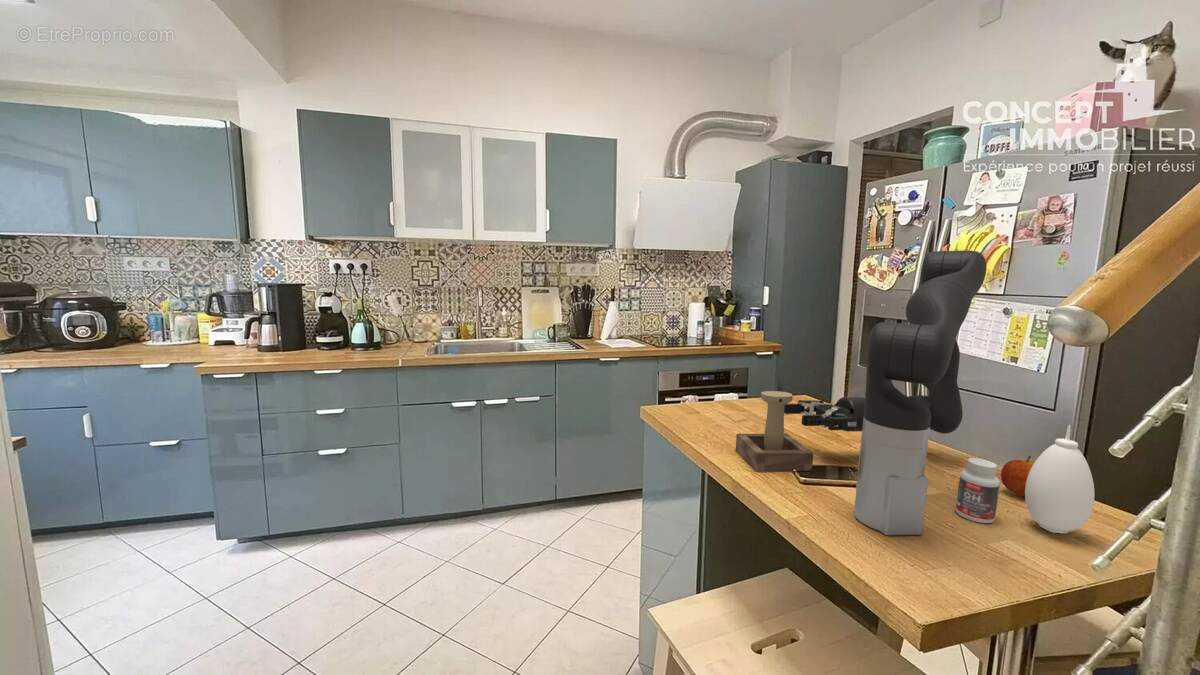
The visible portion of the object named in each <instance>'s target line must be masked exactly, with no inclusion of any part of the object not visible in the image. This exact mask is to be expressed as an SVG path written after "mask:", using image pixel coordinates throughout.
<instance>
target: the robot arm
mask: <svg viewBox="0 0 1200 675" xmlns="http://www.w3.org/2000/svg"><path fill="white" fill-rule="evenodd" d="M986 275H987V261H986V258H985V256H984V255H983V253H981V252H979V251H976V250H936V251H935V250H934V251H930V252H928V253H927V254H926V255H925V256H924V259H923V261H922V265H921V270H920V285H919V286H918V287H917V288H916V289H915V290H914V292H913V294H911V296H910V298H909V299H908V301H907V303H906V306H905V316H906V320H907V322H908V323H901V322H889V321H885V322H884V321H881V322H878V323H877V324H875V325H874V327H872V330H871V331H870V334H869V337H868V341H867V342H868V343H867V352H866V374H865V376H866V379H865V393H864V396H844V397H840V398H839V399H838V400H837V402H836V403H835V404H834V405H833V403H829V402H825V401H823V400H822V399H821V400H802V399H799V400H797V403H787V404H786V405H785V407H784V415H802V416H801V425H802V426H804V427H821V428H823V429H826V428H827V430H829V431H843V432H852V433H853V432H861V435H860V436H861V438H860V447H859V456H858V457H859V458H858V466H857V478H856V486H855V487H856V488H855V496H854V497H855V498H854V508H853V515H854V517H855V518H856V519H857V520H858V521H859V522H860V523H862V524H864V525H865V526H867V527H869V528H871V529H873V530H875V531H879V532H880V533H882V534H884V535H885V536H907V535H908V536H915V535H918V536H920V535H922V534H923V528H924V519H925V512H926V503H927V495H928V494H927V493H928V487H929V478H928V477H927V476H925V471H926V470H925V469H926V463H927V453H928V446H929V438H930V437H929V436H930V430H931V431H933V432H936V433H939V434H944V435H946V434H951V433H953V432H954V431H956V430H957V429H958V428H959V426H960V425H961V423H962V420H963V416H964V415H963V404H962V400H961V395H960V394H961V393H960V389H959V385H958V375H959V368H960V361H961V360H960V359H961V353H960V347H959V344H958V342H957V335H958V333H959V331H960V329H961V327H962V325H963V323H964V322H965V320H966V317H967V316H968V313H969V311H970V308H971V304H972V301H973V298H974V297H975V296H976V294H977V293H978V292H979V291H980V289H981V287H982V286H983V284H984V282H985V279H986ZM893 381H895V382H896V381H898V382H902V383H904V382H905V383H912V384H918V385H922V386H923V387H925V388H926V389H927V390H928V392H929V395H918V394H917V395H909V396H907V395H905V394H904V393H903V392H901V391H900V389H898V388H896V386H895V385H894V383H893Z"/></svg>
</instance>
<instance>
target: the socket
mask: <svg viewBox="0 0 1200 675" xmlns="http://www.w3.org/2000/svg"><path fill="white" fill-rule="evenodd" d="M764 434H765V433H736V436H735V440H736V441H735V451H736V453H737V454H739V456H740V457H742V459H743V460H744V461H745V462H746V463H747V464H748V465H749V466H750V467H751V468H752V469H753V470H754V471H755V472H756V473H763V472H764V473H765V472H766V473H767V472H769V473H771V472H772V473H774V472H779V473H782V472H789V473H790V472H794V471H793V470H794V469H795V468H812V469H813V462H814V452H813V451H811V450H810V449H809V448H808V447H806V446H805V445H803V444H802V443H800V441H798V440H796V439H795V438H794V437H792V436H791V435H790V434H788V433H786V432H785V433H784V439H783V447H782V450H765V449H764Z"/></svg>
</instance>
